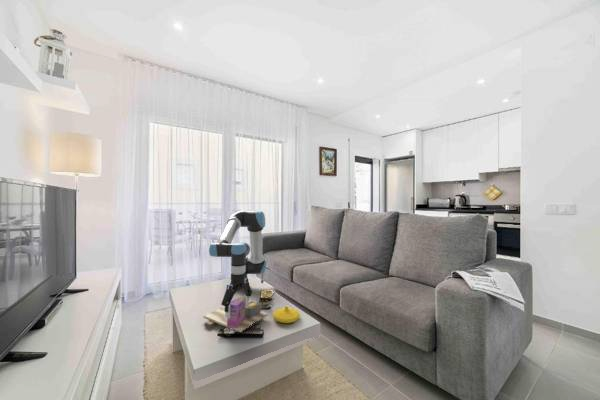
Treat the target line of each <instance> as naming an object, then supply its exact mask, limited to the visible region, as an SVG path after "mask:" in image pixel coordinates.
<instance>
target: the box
mask: <svg viewBox="0 0 600 400" xmlns="http://www.w3.org/2000/svg"><path fill="white" fill-rule="evenodd" d="M229 305H230V318H229V319H228V318H227V327H226V328H228V327H231V328H237V327H238V326H239V325H240V324H241V323H242V322H243V320H244V319H245V305H246V298H245V297H244V296H236V297H233V298H232V300H231V302H230V304H229Z"/></svg>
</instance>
